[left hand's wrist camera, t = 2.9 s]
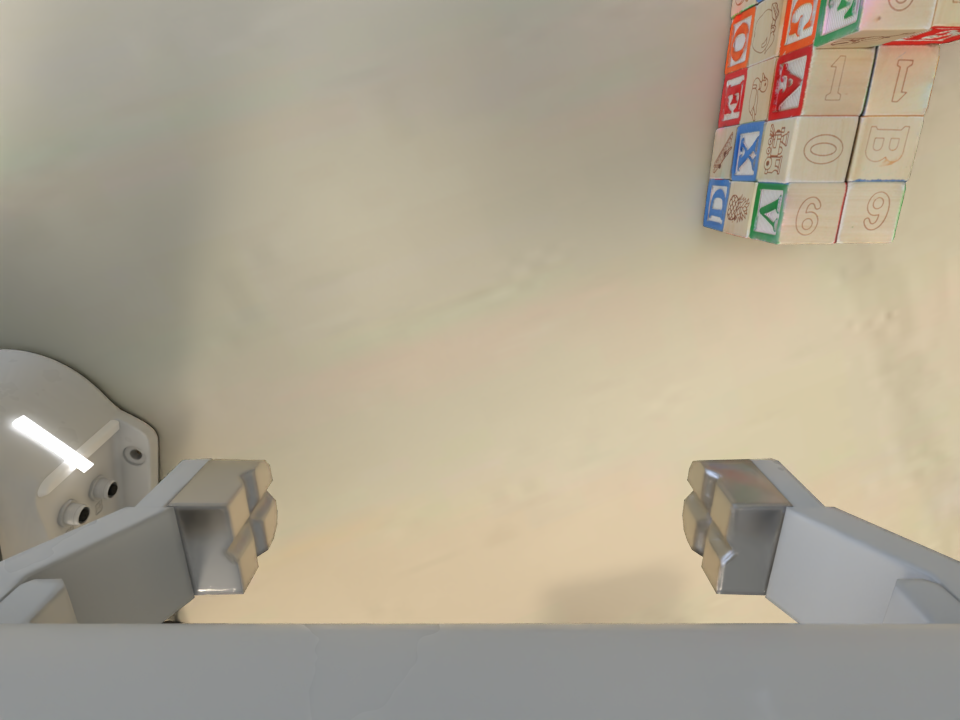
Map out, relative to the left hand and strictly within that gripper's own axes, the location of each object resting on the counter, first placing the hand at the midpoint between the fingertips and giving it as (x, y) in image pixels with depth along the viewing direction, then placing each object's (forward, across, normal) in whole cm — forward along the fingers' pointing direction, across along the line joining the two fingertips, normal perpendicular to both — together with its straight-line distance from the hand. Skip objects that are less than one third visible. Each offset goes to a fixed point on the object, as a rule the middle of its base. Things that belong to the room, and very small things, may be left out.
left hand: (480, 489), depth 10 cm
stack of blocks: (+28, -18, -13) cm, 36 cm away
